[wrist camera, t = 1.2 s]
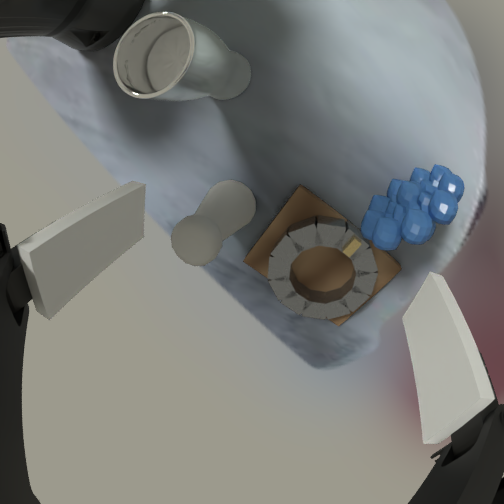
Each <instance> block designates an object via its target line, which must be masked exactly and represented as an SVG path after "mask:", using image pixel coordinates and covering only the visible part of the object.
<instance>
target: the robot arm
mask: <svg viewBox="0 0 504 504" xmlns="http://www.w3.org/2000/svg"><path fill="white" fill-rule="evenodd" d="M143 2H144V0H0V38H5V37H25V36H46V37H53V38H55V39H56V40H58V41H60V42H62V43H64V44H66V45H68V46H69V47H71V48H73V49H77V50H86V51H93V50H98V49H101V48H103V47H105V46H107V45H109V44H110V43H112V42H113V41H115V40H116V39H117V38H118V37H119V36H120V35H121V34H123V32H124V31H125V30H126V29H127V28H128V27H129V26H130V24H131V23H132V22H133V20H134V19H135V17H136V16H137V14H138V12H139V11H140V9H141V6H142V4H143ZM145 188H146V184H143V183H139V182H135V181H131V182H129V183H127V184H125V185H123V186H121V187H119V188H117V189H115V190H113V191H111V192H109V193H107V194H105V195H103V196H101V197H99V198H97V199H95V200H93V201H91V202H89V203H87V204H85V205H83V206H81V207H80V208H78V209H76V210H74V211H72V212H71V213H69V214H67V215H65V216H63V217H62V218H60V219H58V220H57V221H54V222H53V223H51V224H49V225H48V226H46V227H45V228H43V229H41V230H39V231H38V232H36V233H35V234H33V235H31V236H30V237H28V238H27V239H25V240H24V241H22V242H21V243H19V244H18V245H16V246H15V247H13V248H12V249H11V248H10V244H9V240H8V235H7V232H6V227H5V225H4V224H2V223H0V504H40V502H39V500H38V499H37V498H36V496H35V495H34V494H33V492H32V490H31V486H30V482H29V477H28V471H27V465H26V458H25V449H24V440H23V427H22V369H23V368H22V367H23V356H24V344H25V336H26V329H27V322H28V316H29V306H28V304H27V303H28V302H29V301H30V300H31V299H33V302H34V305H35V308H36V310H37V312H39V313H40V314H41V315H43V316H44V317H46V318H47V319H48V320H50V319H51V318H52V317H53V316H54V315H55V314H56V313H57V312H58V311H59V310H60V309H62V307H64V306H65V305H66V304H67V303H68V302H69V301H70V300H71V299H72V298H73V297H74V296H75V295H77V294H78V293H79V292H80V291H81V290H82V289H83V288H84V287H85V286H86V285H88V284H89V283H90V282H91V281H92V280H93V279H94V278H95V277H97V276H98V275H99V274H100V273H101V272H102V271H103V270H105V269H106V268H107V267H108V266H109V265H110V264H111V263H113V262H114V261H115V260H116V259H117V258H119V257H120V256H121V255H122V254H124V253H125V252H126V251H127V250H128V249H130V248H131V247H132V246H133V245H135V244H136V243H137V242H138V241H140V240H141V239H142V238H143V237H144V208H145ZM402 320H403V324H404V328H405V332H406V337H407V341H408V345H409V350H410V355H411V360H412V365H413V370H414V376H415V382H416V388H417V394H418V401H419V408H420V416H421V425H422V436H423V443H424V444H439V443H440V442H442V441H443V440H445V439H446V438H447V437H449V436H450V435H451V440H452V442H451V443H449V444H448V445H447V446H445V447H444V448H442V449H440V450H439V451H437V452H436V453H434V454H433V455H432V456H431V458H434V457H436V456H437V455H440V457H439V458H438V459H437V460H435V462H436V464H435V465H434V467H433V469H432V470H431V472H430V473H429V475H428V476H427V478H426V479H425V481H424V482H423V484H422V485H421V487H420V488H419V489H418V491H417V492H416V494H415V495H414V496H413V497H412V499H411V500H410V502H409V503H408V504H504V477H503V478H502V476H503V473H504V404H500V405H499V404H498V401H497V397H496V394H495V391H494V388H493V385H492V382H491V379H490V376H489V375H488V370H487V368H486V367H485V362H484V360H483V357H482V354H481V353H480V351H479V350H478V348H477V346H476V344H475V341H474V339H473V337H472V334H471V332H470V330H469V328H468V325H467V323H466V321H465V319H464V317H463V315H462V312H461V310H460V308H459V306H458V305H457V302H456V300H455V298H454V297H453V294H452V293H451V291H450V289H449V287H448V285H447V283H446V281H445V280H444V278H443V276H441V275H438V274H436V273H433V272H429V274H428V276H427V278H426V280H425V281H424V283H423V285H422V287H421V288H420V290H419V292H418V293H417V295H416V297H415V298H414V300H413V302H412V303H411V305H410V306H409V308H408V309H407V311H406V313H405V314H404V316H403V317H402Z"/></svg>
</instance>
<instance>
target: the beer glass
mask: <svg viewBox="0 0 504 504" xmlns="http://www.w3.org/2000/svg"><path fill="white" fill-rule="evenodd" d="M113 71H114V76H115V79H116V81H117V83H118V85H119V86H120V88H121V89H122V90H123V91H124V92H125V93H127V94H128V95H130V96H132V97H135V98H141V99H153V100H161V101H189V100H194V99H199V98H203V97H206V96H210V97H212V98H215V99H219V100H227V99H232V98H234V97H236V96H238V95H240V94H241V93H242V92H243V91H244V90H245V89H246V88H247V86H248V84H249V82H250V79H251V68H250V65H249V63H248V61H247V60H246V58H245V57H244V56H242V55H241V54H239V53H237V52H235V51H230V50H229V49H228V48H227V46H226V45H225V43H224V42H223V41H222V40H221V39H220V38H219V36H218V35H217V34H215V33H214V32H213V31H211V30H210V29H209V28H207V27H205V26H204V25H202V24H200V23H198V22H196V21H193V20H191V19H188V18H185V17H182V16H180V15H178V14H176V13H173V12H167V11H161V12H154V13H151V14H148V15H146V16H144V17H142V18H140V19H139V20H137V21H136V22H135V23H133V24H132V25H131V26H130V27H129V28H128V29H127V30H126V32H125V33H124V34H123V36H122V37H121V39H120V41H119V43H118V45H117V47H116V50H115V54H114V59H113Z"/></svg>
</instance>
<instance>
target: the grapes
mask: <svg viewBox="0 0 504 504" xmlns="http://www.w3.org/2000/svg"><path fill="white" fill-rule="evenodd" d="M463 192H464V183H463V181H462V179H461V178H460V177H459V176H457V175H455V174H452V172H451V171H450V170H449V169H448V168H446V167H444V166H441V165H436V164H435V165H434V167H433V169H432V171H431V173H430V172H429V171H427V170H425V169H421V168H415V169H414V171H413V173H412V175H411V178H410V181H403V180H397V179H392V181H391V183H390V185H389V188H388V191H387V197H386V196H381V195H374V196H373V198H372V200H371V202H370V205H369V208H368V210H367V212H366V214H365V216H364V218H363V221H362V223H361V233H362V235H363V237H365V238H366V239H368V240H372V242H373V244H374V246H375V247H377V248H378V249H380V250H387V251H390V250H396V248H397V247H398V245H399V244H400V242H401V240H402V238H403V239H404V241H406V242H408V243H410V244H417V245H420V244H424V243H425V242H426V241H428V240H429V239H430V238H431V237H432V235H433V234H434V231H435V229H436V222H437V223H439V224H444V225H449V224H450V223H451V222H452V221H453V219H454V218H455V216H456V213H457V210H458V204H457V203H458V202H459V201H460V199H461V197H462V196H463Z"/></svg>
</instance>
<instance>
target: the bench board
mask: <svg viewBox="0 0 504 504" xmlns="http://www.w3.org/2000/svg"><path fill="white" fill-rule="evenodd" d="M318 215H322V216H328V217H335V218H341V219H345V222H346V221H347V219H346V218H344V217H343V216H342V215H341V214H339V213H338V212H337V211H336V210H334V209H333V208H332V207H330V206H329V205H328V204H326V203H325V202H324V201H323V200H321V199H320V198H319V197H317V196H316V195H315V194H313V193H312V192H310V191H309V190H308V189H306V188H305V187H304V186H302V185H301V184H300V185H299V186H298V188H297V189H296V190H295V192H294V193H293V194H292V196H291V197H290V198H289V200H288V201H287V202H286V204H285V205H284V206H283V208H282V209H281V210H280V212H279V213H278V214H277V216H276V217H275V218H274V220H273V221H272V222H271V224H270V225H269V226H268V228H267V229H266V230H265V232H264V233H263V234H262V236H261V237H260V238H259V240H258V241H257V242H256V244H255V245H254V246H253V248H252V249H251V250H250V252H249V253H248V254H247V256H246V257H245V259H244V261H243V262H245V263H246V264H248V265H249V266H250V267H252V268H253V269H255V270H256V271H258V272H259V273H261V274H262V275H264V276H265V277H267V278H268V267H269V256H270V254H271V251H272V249H273V246H274V244H275V243H276V242H277V240H278V239H279V238H280V237H281V235H282V234H283V233H284V231H285V230H286V229H287V228H288V226H289V227H290V226H291V224H293V223H296V222H299V221H301V220H304V219H307V218H310V217H312V216H316V218H317V220H318ZM349 222H350V221H349ZM350 223H351V222H350ZM351 224H352V223H351ZM355 227H356V226H355ZM356 228H357V227H356ZM360 231H361V230H360ZM369 242H370V245H371V248H372V251H373V254H374V258H375V261H376V265H377V268H378V275H377V279H376V282H375V285H374V288H373V292H372V295H370V297H369V298H368V299H367V300H366V301H365V302H364V303H363V304H362V305H361V306H359V307H358V308H357V309H356V310H355V311H354V312H352V311H350V312H351V314H347V315H343V316H340V317H336V318H332V319H329V320H330V321H332V322H333V323H335V324H336V325H338V326H340V325H341V324H342V323H343V322H344V321H345V320H347V319H348V318H349V317H350V316H351V315H353V314H354V313H355V312H356V311H357V310H358V309H359V308H361V307H362V306H363V305H364V304H365V303H366V302H367V301H368V300H370V299H371V298H372V297H373V296H374V295H375V294H376V293H377V292H378V291H379V290H380V289H382V288H383V287H384V286H385V285H386V284H387V283H388V282H389V281H390V280H391V279H392V278H393V277H394V276H395V275H396V274H397V273H398V272H399V271H400V270H401V269H402V268H401V265H400V264H399V263H398V262H397V261H396V260H395V259H394V258H393V257H391V256H390V255H389V254H388V253H387V252H386V251H384V250H380V249H378V248H377V247H375V246H374V244H373V242H372V240H369ZM353 268H354V266H353V263H352V260H351V259H350V258H349V257H348V256H347V255H345V254H344V253H343V252H341V251H340V250H339V249H337V248H331V247H325V246H316V247H313V248H310V249H307V250H305V251H302V252H301V253H300V254H299V255H298V256H297V258H296V259H295V260H294V261H293V262H292V269H293V271H294V273H295V276H296V278H297V280H298V281H299V282H300V283H302V284H303V285H305V286H306V287H308V288H309V289H311V290H317V291H323V292H327V291H330V290H334V289H337V288H340V287H342V286H343V285H344V284H345V283H346V282H347V281H348V280H349V279H350V278H351V276H352V272H353ZM326 318H327V317H326Z"/></svg>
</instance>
